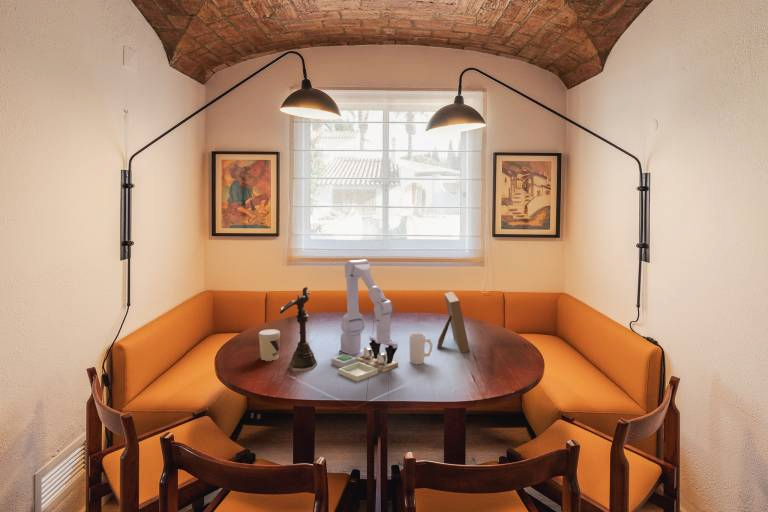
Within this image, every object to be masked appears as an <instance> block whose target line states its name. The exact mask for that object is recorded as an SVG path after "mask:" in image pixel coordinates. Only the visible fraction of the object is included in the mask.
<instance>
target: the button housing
mask: <svg viewBox="0 0 768 512" xmlns="http://www.w3.org/2000/svg"><path fill="white" fill-rule="evenodd" d="M341 356H349V360H346V361H341V360H339V357H341ZM355 357H356V356H352V355H350V354H347V353H344V354H341V355H338V356H334V357H331V365H333V366H336V367H339V368H342V367H345V366H348V365H351V364H354V363H357V358H355Z"/></svg>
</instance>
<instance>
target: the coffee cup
mask: <svg viewBox="0 0 768 512" xmlns="http://www.w3.org/2000/svg"><path fill="white" fill-rule="evenodd" d="M280 339H281V332H280V330H279V329H274V328H272V329H271V328H270V329H269V328H267V329H262V330H261V331H259V333H258V341H259V352H260V360H261V361H263V360H265V362H272V360H273V361H277V360H278V359H279V356H280V343H281V341H280Z"/></svg>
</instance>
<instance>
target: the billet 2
mask: <svg viewBox="0 0 768 512" xmlns="http://www.w3.org/2000/svg"><path fill="white" fill-rule="evenodd" d="M377 364H379V365H382V366H385V365H388V364H387V353H386V352H383V351H382V352H380V353H378V354H377Z"/></svg>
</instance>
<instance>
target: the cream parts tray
mask: <svg viewBox="0 0 768 512" xmlns="http://www.w3.org/2000/svg"><path fill="white" fill-rule="evenodd" d="M354 357H355V358H357V362H361V363H364V364H366V365H369V366H372V367H374V368H377V369H378V371H380V372H382V373H384V372H386V371H389V370H391V369H394V368H396V367H398V366H399V362H398V361H394V360H392V363H389V364H388V363H387V365H385V366H382V365H379V364H377V359H375V358H374V354H373V359H371V360H365V359H364V353H363V354H359V355H355V356H354Z"/></svg>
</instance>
